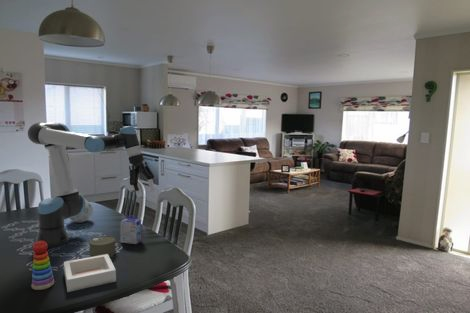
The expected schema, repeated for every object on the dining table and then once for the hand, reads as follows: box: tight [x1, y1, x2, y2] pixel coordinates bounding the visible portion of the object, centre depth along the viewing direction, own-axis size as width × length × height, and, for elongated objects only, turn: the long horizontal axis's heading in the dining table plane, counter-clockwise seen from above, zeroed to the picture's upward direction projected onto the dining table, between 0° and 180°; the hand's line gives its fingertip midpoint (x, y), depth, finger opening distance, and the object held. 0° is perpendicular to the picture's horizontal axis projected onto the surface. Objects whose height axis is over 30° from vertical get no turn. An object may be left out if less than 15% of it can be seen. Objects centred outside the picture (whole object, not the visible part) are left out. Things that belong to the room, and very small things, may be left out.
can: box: [89, 235, 116, 257], centre depth 163 cm, size 12×12×7 cm
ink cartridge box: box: [120, 214, 142, 245], centre depth 178 cm, size 10×6×14 cm, turn 78°
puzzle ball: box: [68, 199, 94, 224], centre depth 209 cm, size 15×15×15 cm
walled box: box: [63, 254, 117, 293], centre depth 139 cm, size 18×18×5 cm
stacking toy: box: [30, 241, 55, 291], centre depth 130 cm, size 8×8×19 cm
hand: (146, 193), depth 173 cm, fingers open, 13 cm apart
